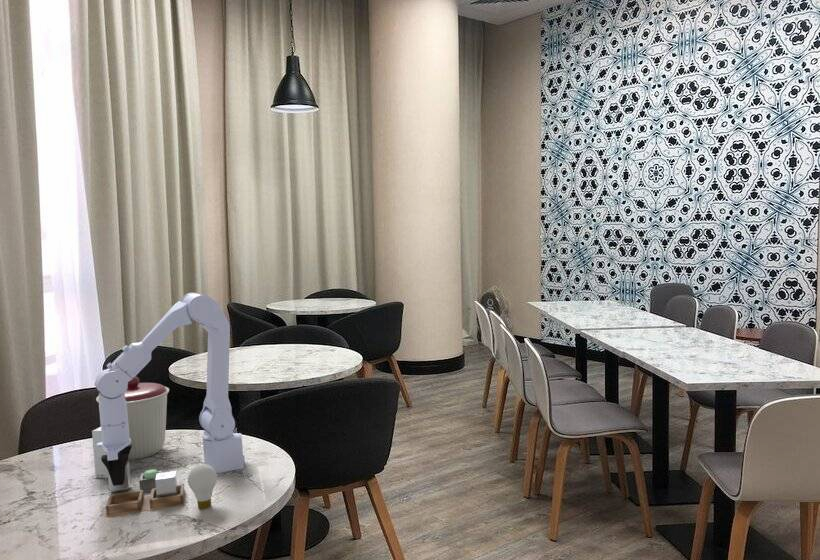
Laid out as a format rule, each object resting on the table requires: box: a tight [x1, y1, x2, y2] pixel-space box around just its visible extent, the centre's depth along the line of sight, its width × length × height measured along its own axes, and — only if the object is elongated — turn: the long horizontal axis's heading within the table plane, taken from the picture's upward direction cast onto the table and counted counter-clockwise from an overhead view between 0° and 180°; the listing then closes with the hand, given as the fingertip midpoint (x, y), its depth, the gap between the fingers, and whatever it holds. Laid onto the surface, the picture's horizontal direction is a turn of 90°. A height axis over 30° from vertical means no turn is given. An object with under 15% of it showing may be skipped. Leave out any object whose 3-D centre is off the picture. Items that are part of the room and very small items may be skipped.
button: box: [143, 468, 158, 479], centre depth 156 cm, size 3×3×4 cm
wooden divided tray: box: [104, 483, 186, 518], centre depth 146 cm, size 16×8×3 cm, turn 107°
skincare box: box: [91, 426, 108, 479], centre depth 167 cm, size 6×4×12 cm
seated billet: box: [155, 470, 178, 498], centre depth 147 cm, size 4×4×6 cm
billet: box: [107, 459, 132, 493], centre depth 154 cm, size 4×4×6 cm
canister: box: [95, 375, 170, 461], centre depth 181 cm, size 18×18×21 cm
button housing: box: [138, 470, 163, 492], centre depth 156 cm, size 5×5×4 cm
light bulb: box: [187, 463, 218, 510], centre depth 143 cm, size 6×6×10 cm
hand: (119, 480), depth 154 cm, fingers closed on billet, 4 cm apart
